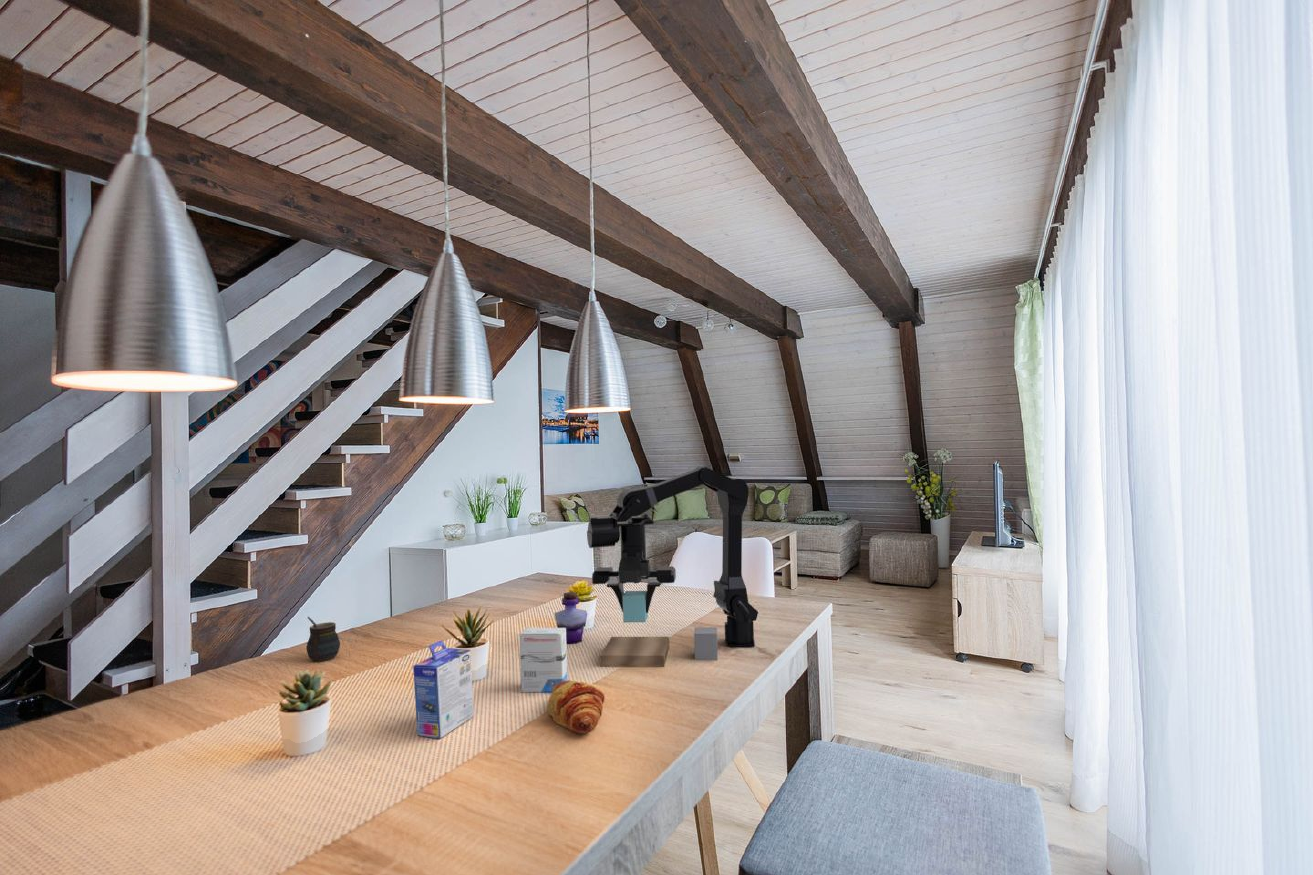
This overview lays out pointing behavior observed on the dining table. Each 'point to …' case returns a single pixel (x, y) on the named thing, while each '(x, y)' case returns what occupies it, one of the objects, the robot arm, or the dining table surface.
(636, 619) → the teal block
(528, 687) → the ink box
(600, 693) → the croissant
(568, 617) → the potion bottle
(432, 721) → the ink cartridge box
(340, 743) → the dining table surface
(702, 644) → the gray block
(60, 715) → the dining table surface
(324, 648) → the mate gourd
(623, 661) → the walnut slab
